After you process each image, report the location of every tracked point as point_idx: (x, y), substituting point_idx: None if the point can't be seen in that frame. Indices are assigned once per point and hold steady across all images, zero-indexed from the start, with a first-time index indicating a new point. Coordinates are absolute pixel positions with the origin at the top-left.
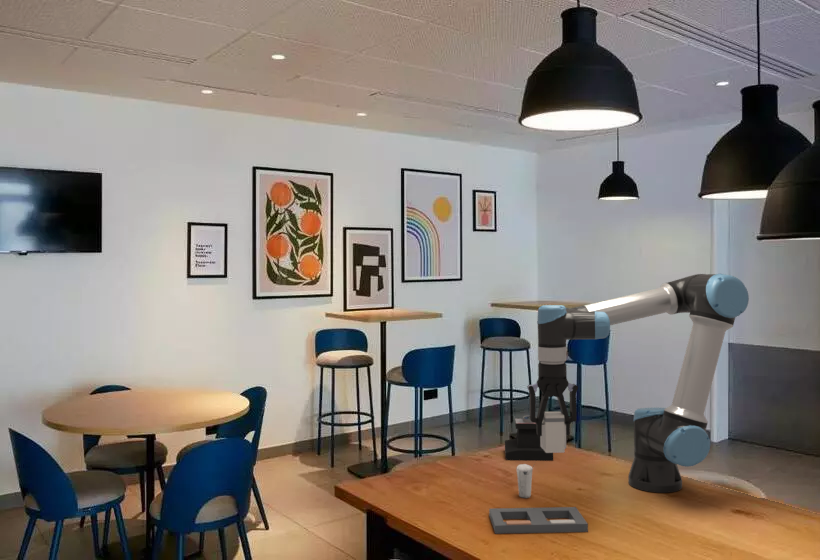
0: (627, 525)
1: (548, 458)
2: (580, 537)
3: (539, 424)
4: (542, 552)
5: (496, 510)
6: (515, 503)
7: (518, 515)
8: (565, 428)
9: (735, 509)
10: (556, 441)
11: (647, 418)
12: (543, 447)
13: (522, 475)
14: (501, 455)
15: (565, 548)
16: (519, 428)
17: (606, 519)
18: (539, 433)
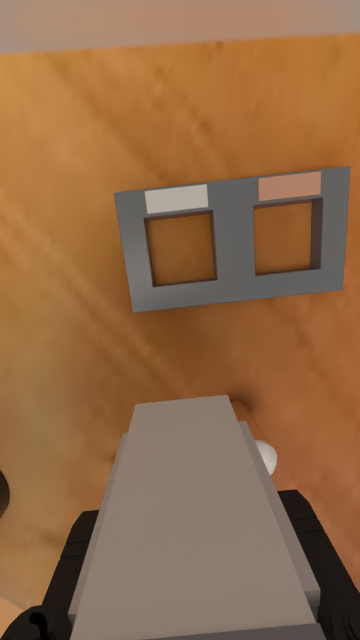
0: (24, 247)
1: None
2: (139, 160)
3: (349, 598)
4: (242, 46)
5: (327, 277)
6: (260, 368)
7: (271, 273)
8: (88, 562)
9: None
10: (174, 442)
11: None
12: (242, 426)
13: (258, 433)
14: None
15: (182, 79)
16: None
17: (70, 282)
18: (295, 508)
